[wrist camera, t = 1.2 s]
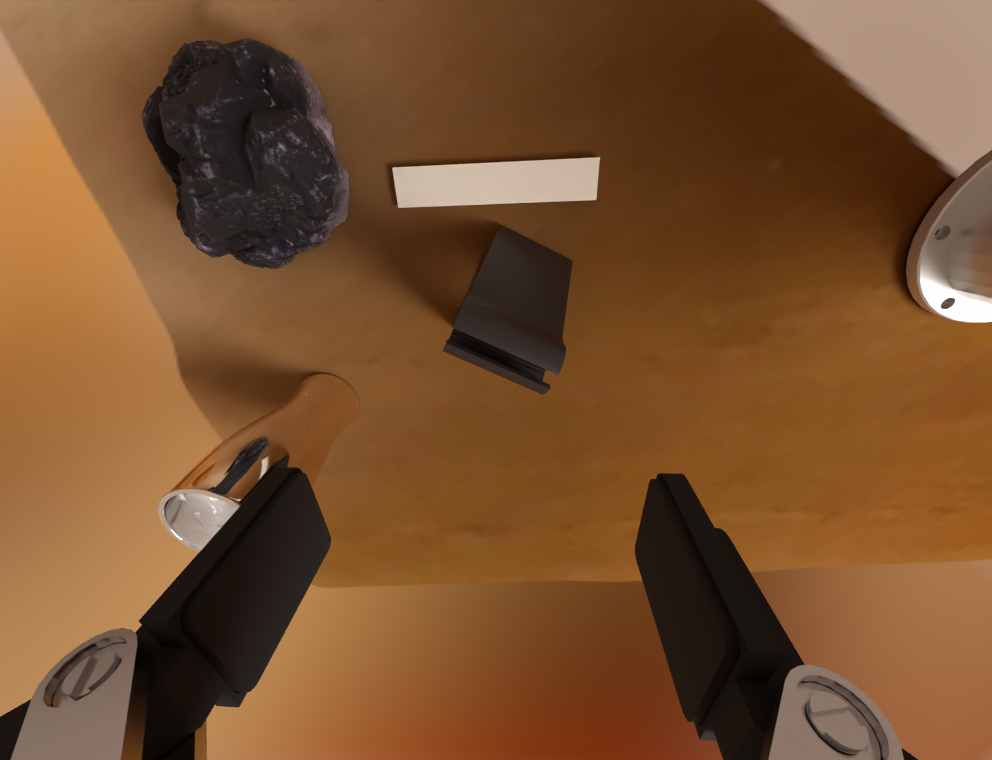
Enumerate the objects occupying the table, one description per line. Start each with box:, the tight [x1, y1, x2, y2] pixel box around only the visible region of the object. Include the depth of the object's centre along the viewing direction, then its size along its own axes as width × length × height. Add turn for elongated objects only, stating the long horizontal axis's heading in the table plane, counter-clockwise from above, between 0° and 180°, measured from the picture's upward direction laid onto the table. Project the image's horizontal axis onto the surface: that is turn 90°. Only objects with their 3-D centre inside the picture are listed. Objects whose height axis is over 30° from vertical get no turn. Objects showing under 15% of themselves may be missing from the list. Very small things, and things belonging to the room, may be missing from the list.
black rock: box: [142, 39, 350, 269], centre depth 22 cm, size 13×14×10 cm
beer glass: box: [158, 374, 360, 553], centre depth 28 cm, size 7×7×15 cm
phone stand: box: [443, 226, 572, 394], centre depth 24 cm, size 9×6×12 cm, turn 155°
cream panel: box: [392, 157, 600, 208], centre depth 25 cm, size 14×2×1 cm, turn 92°
